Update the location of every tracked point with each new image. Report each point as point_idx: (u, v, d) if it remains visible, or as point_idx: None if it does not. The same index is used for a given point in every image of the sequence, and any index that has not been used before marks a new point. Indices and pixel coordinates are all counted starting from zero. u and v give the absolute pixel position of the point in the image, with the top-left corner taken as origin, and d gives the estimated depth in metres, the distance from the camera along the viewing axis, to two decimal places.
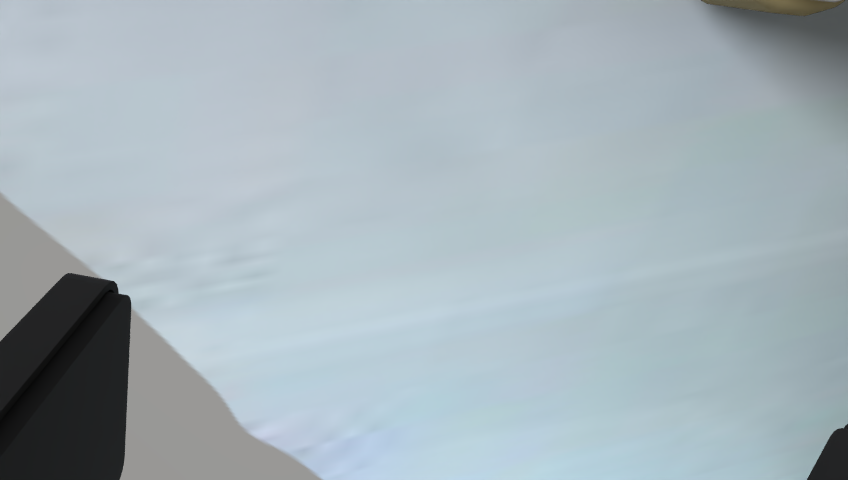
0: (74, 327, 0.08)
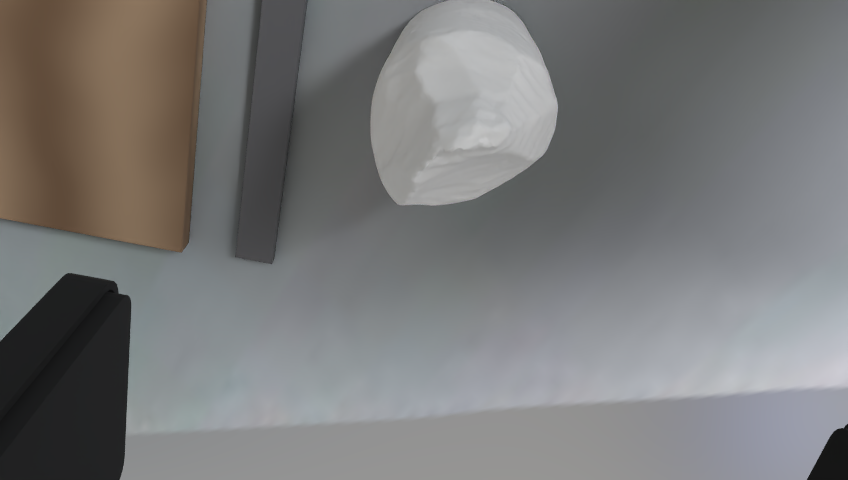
0: (74, 327, 0.08)
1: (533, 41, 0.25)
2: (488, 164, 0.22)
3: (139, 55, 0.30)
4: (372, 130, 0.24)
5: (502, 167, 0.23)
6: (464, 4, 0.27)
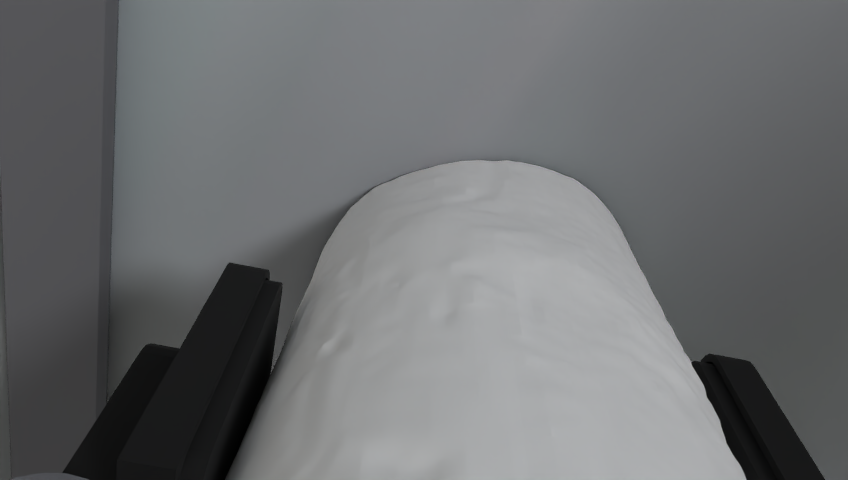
0: (249, 310, 0.09)
1: (684, 355, 0.09)
2: None
3: None
4: None
5: None
6: (480, 218, 0.10)
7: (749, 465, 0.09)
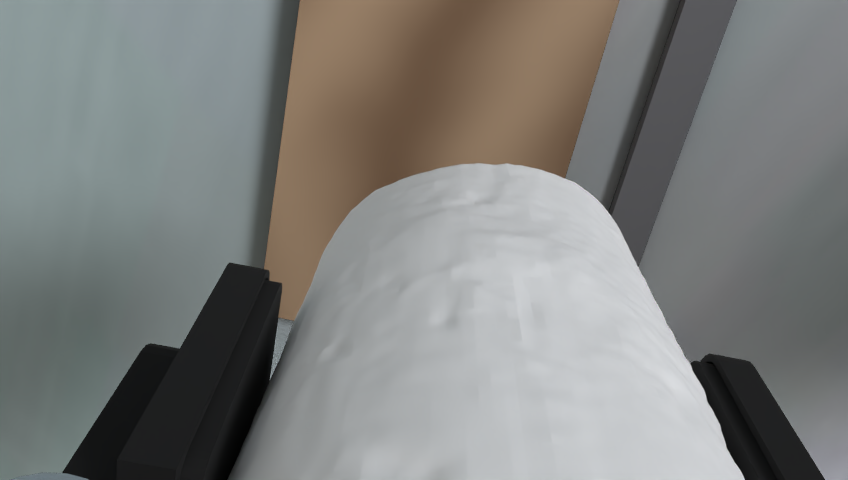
0: (249, 310, 0.09)
1: (684, 360, 0.09)
2: None
3: (507, 160, 0.27)
4: None
5: None
6: (480, 222, 0.10)
7: (749, 465, 0.09)
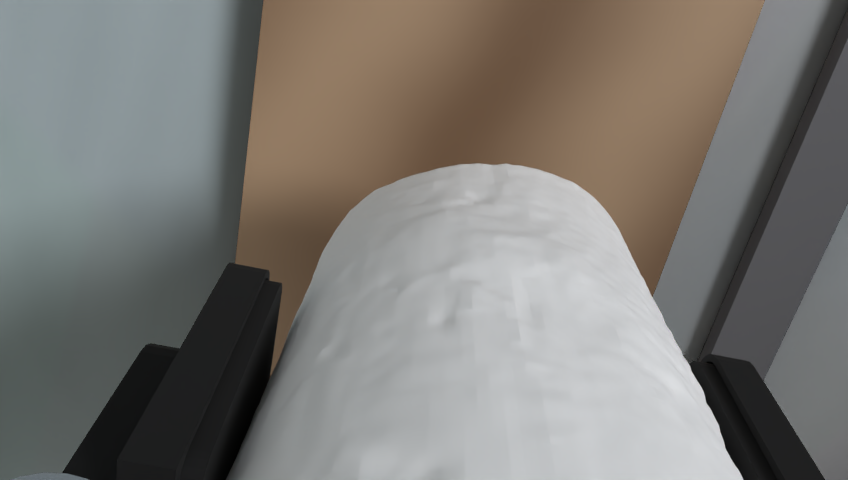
0: (250, 310, 0.09)
1: (683, 360, 0.09)
2: None
3: None
4: None
5: None
6: (479, 223, 0.10)
7: (749, 465, 0.09)
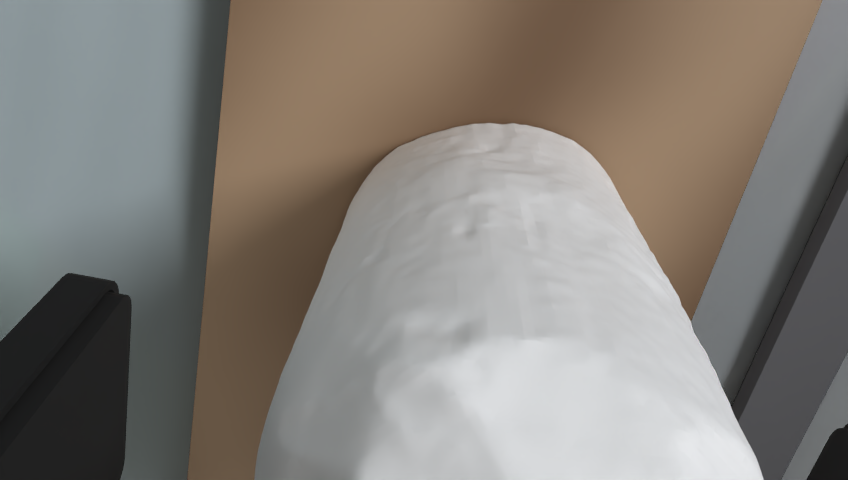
0: (74, 327, 0.08)
1: (662, 273, 0.10)
2: None
3: None
4: None
5: None
6: (492, 164, 0.12)
7: None
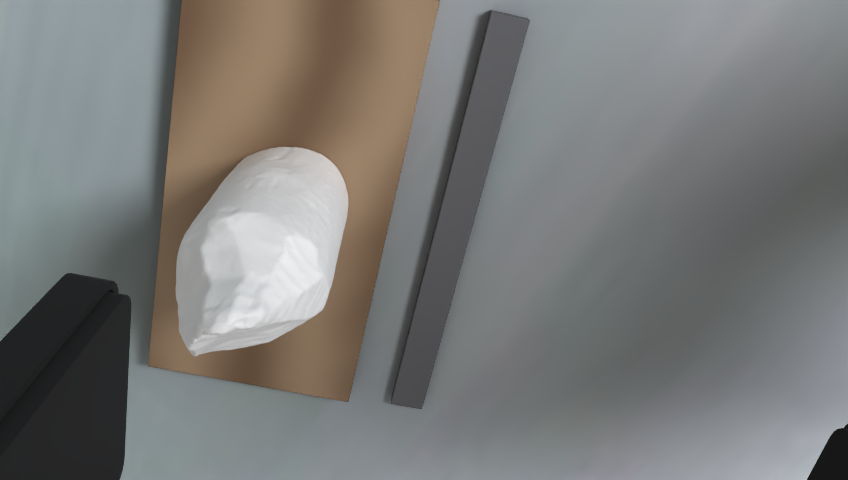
0: (74, 327, 0.08)
1: (325, 203, 0.29)
2: (266, 325, 0.26)
3: None
4: (176, 286, 0.28)
5: (282, 324, 0.27)
6: (272, 164, 0.31)
7: None
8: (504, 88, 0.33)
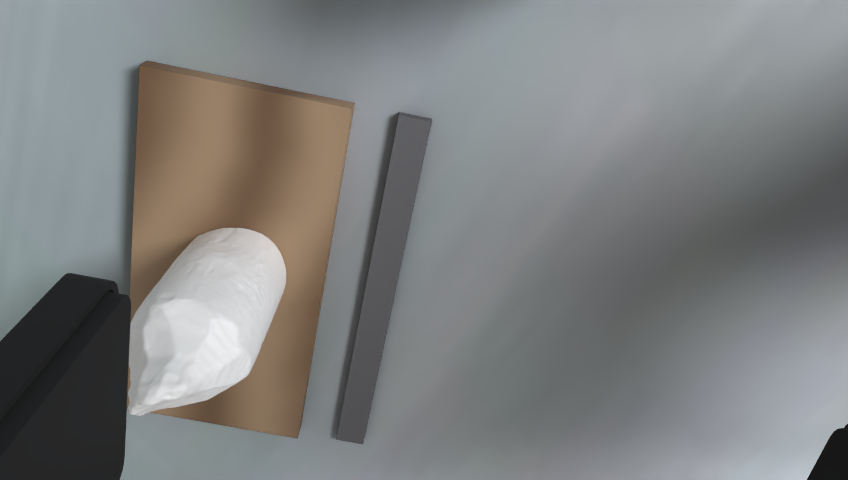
0: (74, 327, 0.08)
1: (254, 283, 0.35)
2: None
3: (277, 313, 0.41)
4: None
5: None
6: (213, 248, 0.36)
7: None
8: (414, 177, 0.38)
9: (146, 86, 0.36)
